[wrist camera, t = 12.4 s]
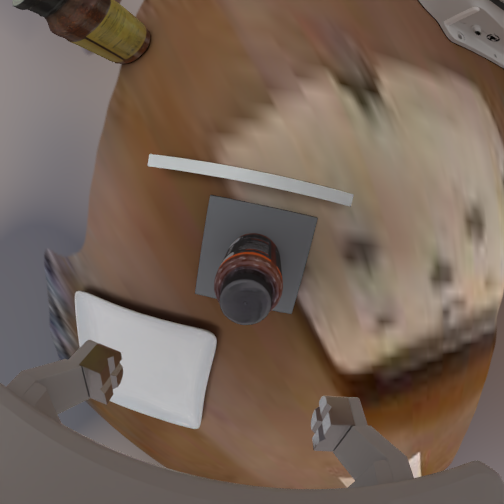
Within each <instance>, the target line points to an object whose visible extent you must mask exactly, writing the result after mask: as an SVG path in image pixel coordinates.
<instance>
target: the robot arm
mask: <svg viewBox="0 0 504 504" xmlns="http://www.w3.org/2000/svg"><path fill="white" fill-rule="evenodd" d="M419 2H420V3H421V4H422V5H423V6H424V8H425V9H426V10H427V11H428V12H429V13H430V14H431V15H432V16H433V17H434V18H435V19H436V20H437V21H438V23H439V24H440V26H441V28H442V29H443V31H444V33H445V34H446V36H447V37H448V38H449V39H450V40H451V41H452V42H454V43H456V44H458V45H460V46H463V47H465V48H467V49H469V50H471V51H473V52H475V53H477V54H479V55H481V56H483V57H485V58H486V59H488V60H490V61H492V62H494V63H495V64H497V65H499V66H500V67H502V68H504V0H419ZM121 360H122V356H121V352H119V351H117V350H114V349H112V348H109V347H107V346H104V345H102V344H100V343H97V342H94V341H92V340H87V341H86V342H85V343H84V344H83V345H82V346H81V347H80V348H79V349H78V350H77V351H76V352H75V353H74V355H73V356H72V357H71V358H70V359H69V360H67V359H64V360H60V361H57V362H54V363H50V364H46V365H42V366H39V367H35V368H32V369H27V370H24V371H21V372H20V373H19V374H18V375H17V376H16V377H15V378H14V379H13V380H12V381H11V382H10V383H9V384H8V385H7V387H5V386H4V385H3V384H1V383H0V504H504V482H503V480H502V479H501V477H500V475H499V474H498V473H497V472H496V471H495V470H493V469H492V468H490V467H489V466H487V465H485V464H484V463H482V462H480V461H472V462H470V463H467V464H463V465H461V466H458V467H455V468H452V469H449V470H445V471H441V472H438V473H434V474H430V475H426V476H422V477H418V478H414V477H413V474H412V471H411V468H410V465H409V462H408V459H407V456H405V455H404V454H403V453H402V452H401V451H399V450H398V449H397V448H396V447H395V446H393V445H392V444H391V443H390V442H389V441H388V440H386V439H385V438H384V437H383V436H382V435H381V434H379V433H378V432H377V431H376V430H375V429H374V428H373V427H371V426H368V425H367V422H366V419H365V416H364V412H363V409H362V406H361V403H360V400H359V398H356V397H334V396H323V397H322V398H321V399H320V401H319V405H320V407H318V408H316V409H315V411H314V413H313V415H312V419H311V430H312V431H313V432H314V433H315V435H314V436H313V438H312V439H313V449H314V450H315V451H334V452H333V453H334V454H335V455H336V457H337V458H338V459H339V461H340V462H341V463H342V464H343V466H344V467H345V468H346V469H347V471H348V472H349V473H350V474H351V476H352V477H353V478H354V479H355V482H354V483H352V484H351V485H350V486H349V487H348V488H339V489H284V488H270V487H259V486H250V485H243V484H236V483H229V482H223V481H218V480H213V479H208V478H203V477H199V476H194V475H190V474H186V473H182V472H178V471H175V470H171V469H168V468H164V467H161V466H157V465H155V464H151V463H148V462H145V461H142V460H140V459H137V458H134V457H132V456H129V455H126V454H124V453H121V452H119V451H116V450H114V449H112V448H109V447H107V446H105V445H102V444H100V443H98V442H96V441H94V440H92V439H90V438H87V437H85V436H83V435H81V434H79V433H78V432H75V431H74V430H72V429H70V428H68V427H66V426H64V425H63V424H61V421H60V419H59V417H58V415H57V414H59V413H61V412H63V411H65V410H67V409H69V408H71V407H73V406H75V405H77V404H79V403H81V402H83V401H85V400H87V399H89V397H90V398H92V399H94V400H97V401H99V402H102V403H104V404H108V402H109V400H110V399H111V397H112V396H113V389H115V388H117V387H118V386H119V385H120V383H121V380H122V377H123V367H122V365H121V364H120V361H121Z"/></svg>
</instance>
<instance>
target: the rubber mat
mask: <svg viewBox="0 0 504 504" xmlns="http://www.w3.org/2000/svg"><path fill="white" fill-rule="evenodd" d="M317 219H318V218H317V217H313V216H309V215H304V214H300V213H296V212H291V211H287V210H282V209H278V208H273V207H269V206H264V205H259V204H254V203H249V202H245V201H240V200H235V199H230V198H224V197H219V196H214V195H210V200H209V205H208V211H207V217H206V223H205V229H204V235H203V242H202V248H201V255H200V262H199V269H198V276H197V283H196V290H195V294H199V295H203V296H207V297H212V298H216V299H217V297H216V295H215V292H214V281H215V277H216V274H217V271H218V269H219V267H220V265H221V263H222V261H223V259H224V257H225V255H226V253H227V251H228V249H229V247H230V246H231V244H232V243H233V242H234V241H235V240H236V239H237V238H239V237H240V236H242V235H245V234H249V233H257V234H261V235H264V236H266V237H268V238H269V239H270V240H272V241H273V242H274V244H275V245H276V247H277V249H278V251H279V254H280V260H281V270H282V280H283V290H282V295H281V298H280V300H279V302H278V304H277V305H276V307H275V308H274V309H273V311H278V312H283V313H289V314H292V310H293V307H294V304H295V300H296V297H297V293H298V290H299V286H300V283H301V279H302V276H303V272H304V269H305V265H306V261H307V258H308V254H309V250H310V246H311V242H312V239H313V235H314V231H315V227H316V223H317Z"/></svg>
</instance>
